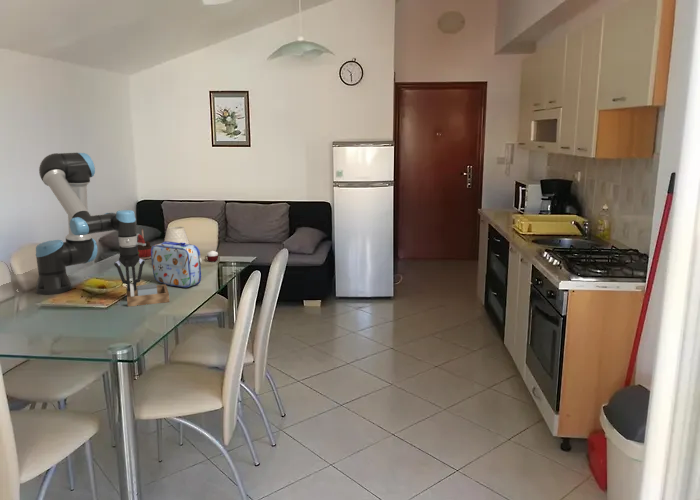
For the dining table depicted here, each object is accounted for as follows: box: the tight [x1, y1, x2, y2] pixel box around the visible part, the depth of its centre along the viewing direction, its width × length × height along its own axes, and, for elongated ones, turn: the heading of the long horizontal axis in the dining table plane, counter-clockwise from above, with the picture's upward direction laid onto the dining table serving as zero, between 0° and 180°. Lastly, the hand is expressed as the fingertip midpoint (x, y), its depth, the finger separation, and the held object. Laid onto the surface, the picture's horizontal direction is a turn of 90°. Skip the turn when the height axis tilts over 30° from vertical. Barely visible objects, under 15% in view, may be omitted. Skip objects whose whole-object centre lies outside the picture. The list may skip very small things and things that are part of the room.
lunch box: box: [150, 241, 203, 288], centre depth 275 cm, size 28×10×22 cm, turn 62°
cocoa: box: [204, 239, 221, 263], centre depth 327 cm, size 10×6×12 cm, turn 93°
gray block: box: [136, 283, 157, 296], centre depth 252 cm, size 8×6×6 cm
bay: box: [125, 284, 170, 307], centre depth 252 cm, size 17×16×4 cm
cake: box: [136, 228, 152, 260], centre depth 335 cm, size 11×9×18 cm
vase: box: [163, 226, 191, 245], centre depth 307 cm, size 18×17×23 cm
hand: (132, 297), depth 250 cm, fingers closed
